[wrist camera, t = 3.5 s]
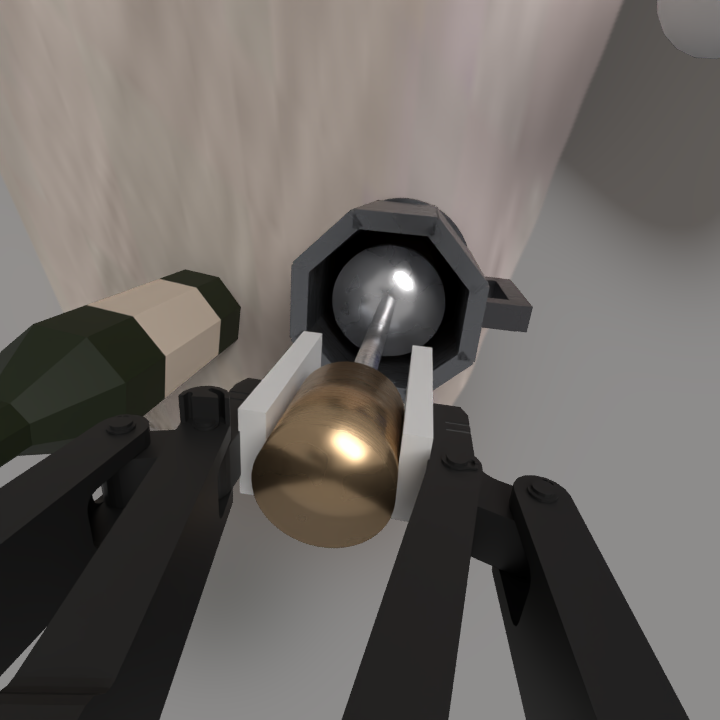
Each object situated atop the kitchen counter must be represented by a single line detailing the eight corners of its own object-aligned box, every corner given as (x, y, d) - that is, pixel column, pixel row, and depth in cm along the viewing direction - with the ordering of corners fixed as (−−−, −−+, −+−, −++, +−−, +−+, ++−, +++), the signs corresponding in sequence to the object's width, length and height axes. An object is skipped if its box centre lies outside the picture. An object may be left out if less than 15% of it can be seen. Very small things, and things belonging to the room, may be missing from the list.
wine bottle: (178, 250, 39) (-405, 410, 12) (258, 303, 40) (-118, 570, 13) (145, 322, 43) (-377, 580, 15) (218, 371, 43) (-149, 700, 16)
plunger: (338, 238, 27) (175, 337, 10) (453, 250, 26) (497, 381, 9) (331, 344, 30) (194, 570, 13) (435, 358, 29) (443, 618, 12)
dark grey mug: (335, 191, 36) (287, 196, 24) (518, 208, 34) (566, 223, 22) (327, 328, 40) (283, 390, 28) (489, 348, 39) (515, 423, 27)
